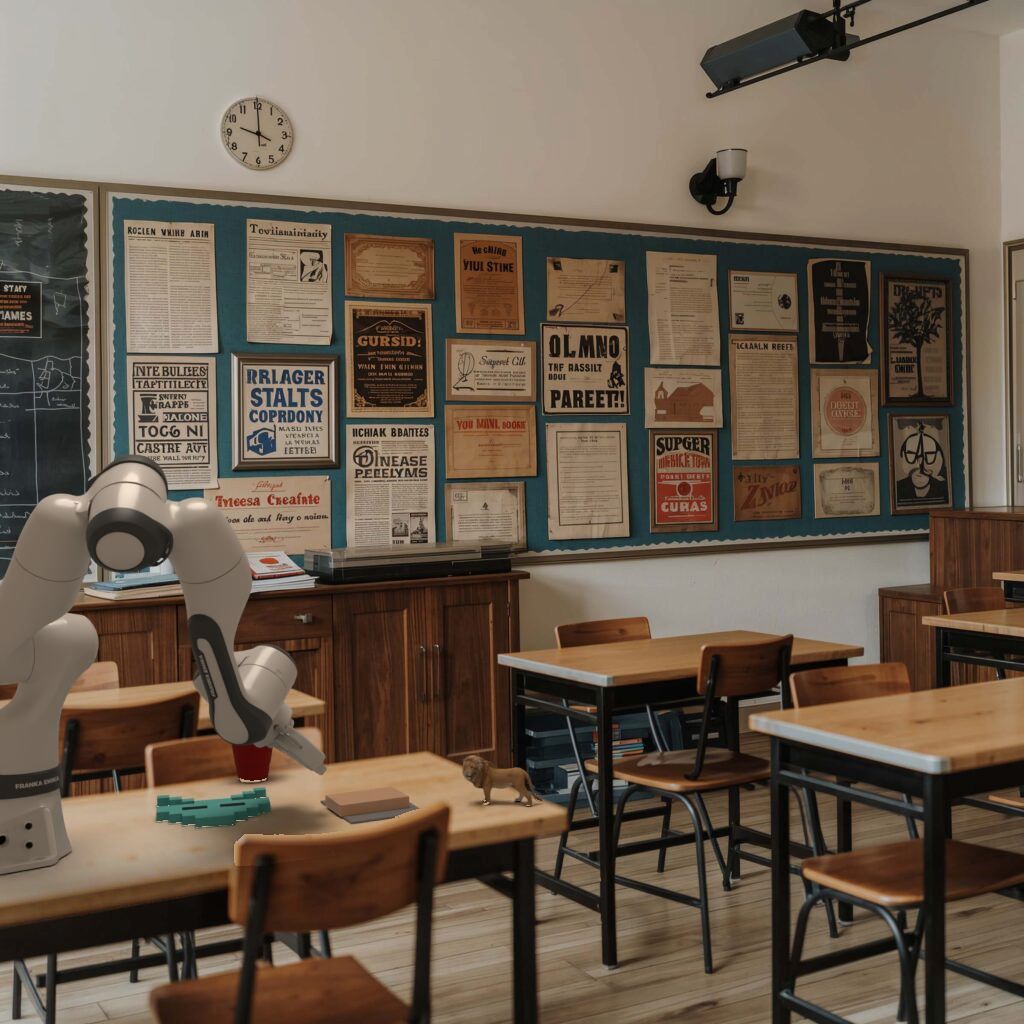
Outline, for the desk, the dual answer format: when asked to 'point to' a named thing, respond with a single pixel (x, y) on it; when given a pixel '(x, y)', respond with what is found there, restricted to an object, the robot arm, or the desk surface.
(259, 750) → the plastic cup
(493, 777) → the lion figurine
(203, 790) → the desk surface
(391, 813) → the mat
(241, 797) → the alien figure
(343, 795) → the tile
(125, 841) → the desk surface
